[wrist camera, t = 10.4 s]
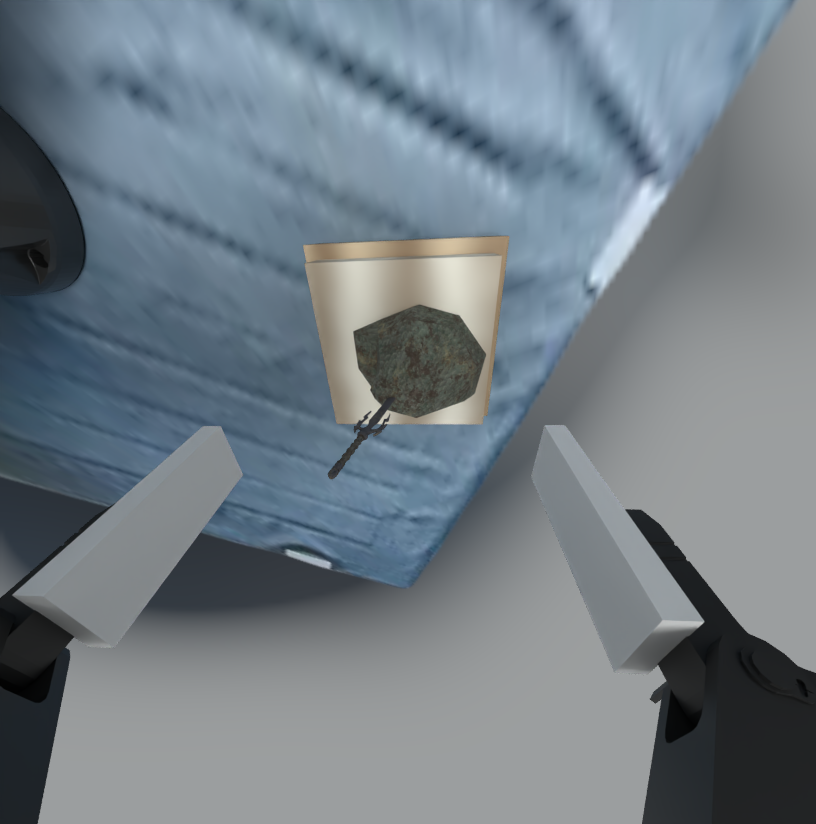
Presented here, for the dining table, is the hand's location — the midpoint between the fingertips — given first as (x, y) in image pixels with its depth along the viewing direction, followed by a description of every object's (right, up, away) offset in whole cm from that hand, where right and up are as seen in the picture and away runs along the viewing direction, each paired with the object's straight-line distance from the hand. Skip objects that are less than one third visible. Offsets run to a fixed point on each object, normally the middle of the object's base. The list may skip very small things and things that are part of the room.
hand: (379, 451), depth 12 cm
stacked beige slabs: (+1, +10, +16) cm, 19 cm away
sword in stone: (+2, +6, +11) cm, 12 cm away
